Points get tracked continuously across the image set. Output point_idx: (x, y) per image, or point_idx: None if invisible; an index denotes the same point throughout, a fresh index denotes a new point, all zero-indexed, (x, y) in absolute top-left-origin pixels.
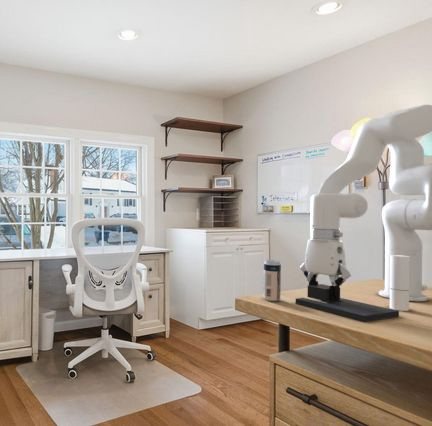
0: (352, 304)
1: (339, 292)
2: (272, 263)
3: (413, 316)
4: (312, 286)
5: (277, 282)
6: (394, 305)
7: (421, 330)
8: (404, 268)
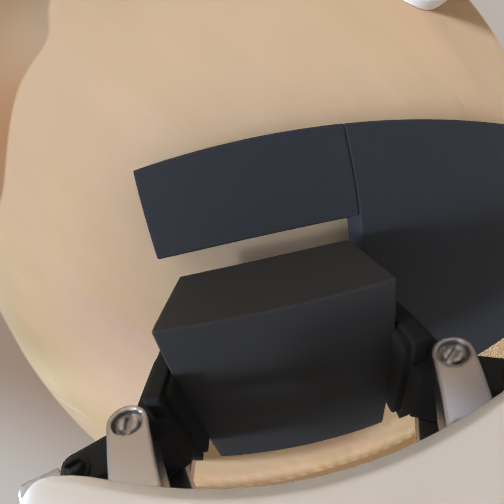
0: (435, 239)
1: (415, 318)
2: None
3: (499, 68)
4: (264, 450)
5: None
6: (433, 2)
7: None
8: None
